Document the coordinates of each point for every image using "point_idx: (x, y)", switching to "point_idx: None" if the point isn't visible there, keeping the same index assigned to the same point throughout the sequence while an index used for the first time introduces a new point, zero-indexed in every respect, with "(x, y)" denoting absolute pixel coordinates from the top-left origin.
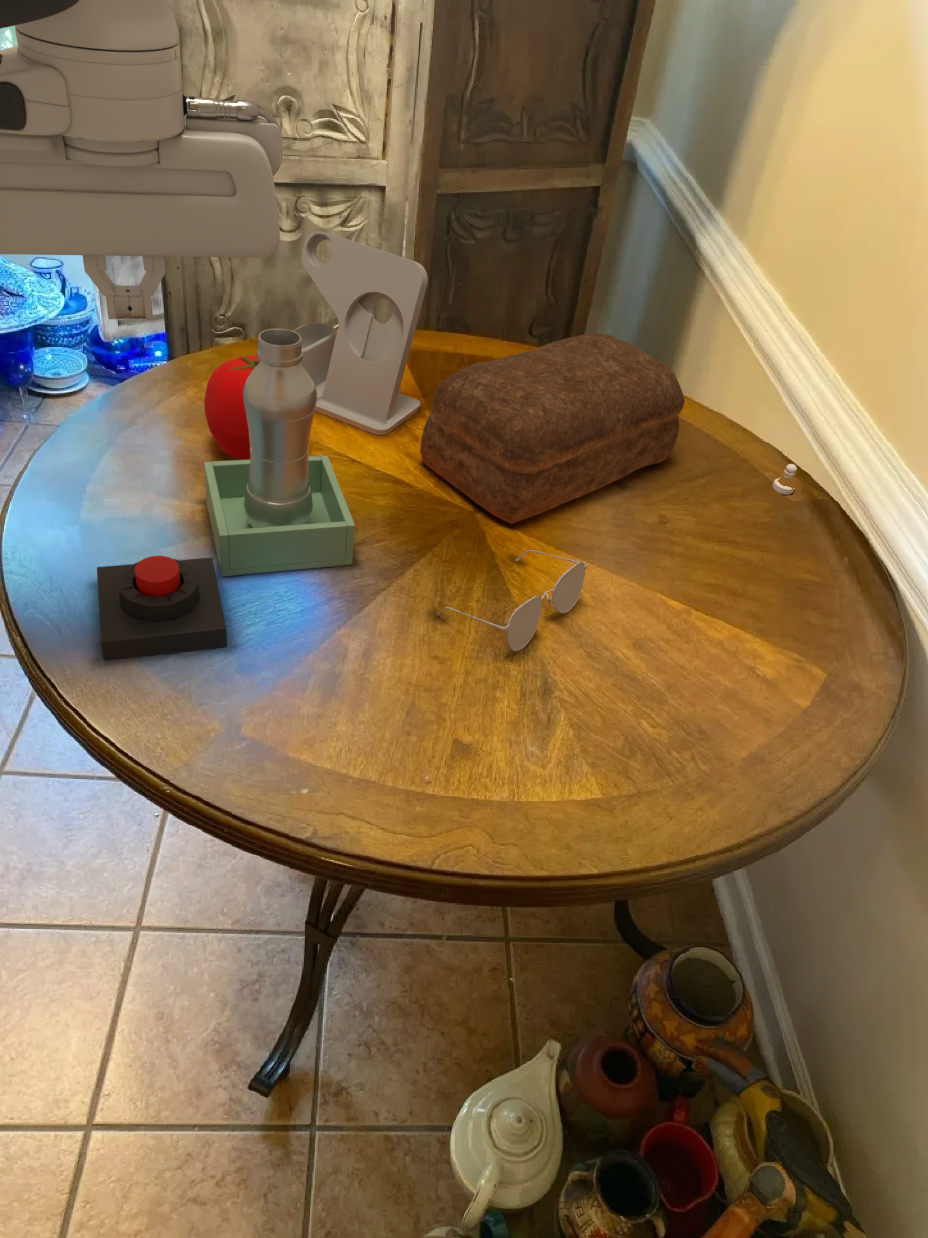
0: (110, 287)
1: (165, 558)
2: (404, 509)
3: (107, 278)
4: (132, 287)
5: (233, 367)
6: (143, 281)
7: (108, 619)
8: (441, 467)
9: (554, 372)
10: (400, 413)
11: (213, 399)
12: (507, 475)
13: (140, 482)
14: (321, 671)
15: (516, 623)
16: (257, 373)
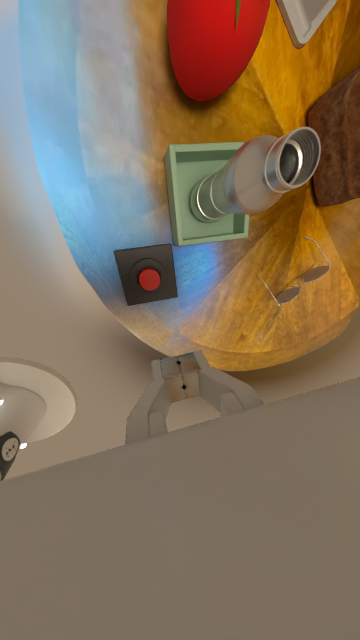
0: (166, 411)
1: (153, 272)
2: None
3: (161, 402)
4: (189, 377)
5: None
6: (207, 385)
7: (128, 292)
8: None
9: None
10: (329, 1)
11: (182, 30)
12: (344, 195)
13: (116, 120)
14: (208, 306)
15: (284, 300)
16: (250, 180)
